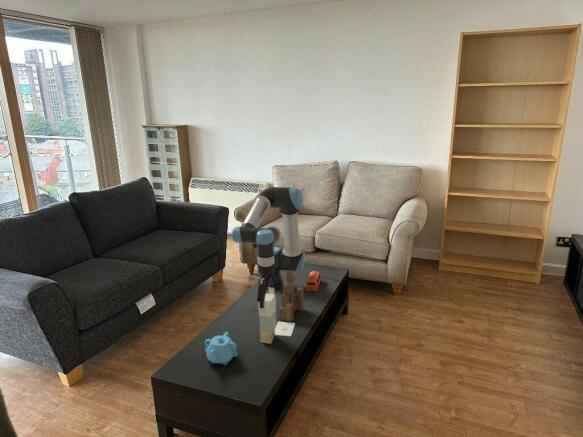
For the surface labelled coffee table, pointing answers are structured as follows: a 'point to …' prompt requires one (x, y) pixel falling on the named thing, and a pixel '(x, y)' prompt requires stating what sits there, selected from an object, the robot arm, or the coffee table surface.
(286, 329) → the page
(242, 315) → the coffee table surface
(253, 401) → the coffee table surface
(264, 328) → the sage block
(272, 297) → the cream block
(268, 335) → the maple base block
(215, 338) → the teapot
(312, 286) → the toy bus
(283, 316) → the wooden toy
